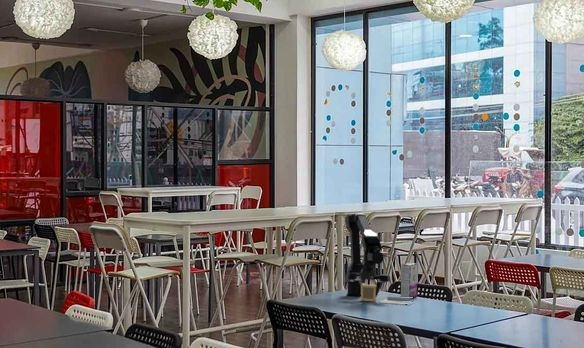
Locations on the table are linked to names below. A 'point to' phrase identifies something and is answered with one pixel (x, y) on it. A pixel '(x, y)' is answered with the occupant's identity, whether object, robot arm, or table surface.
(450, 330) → the table surface
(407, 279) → the candy bar box
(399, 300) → the mat
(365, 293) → the tile
